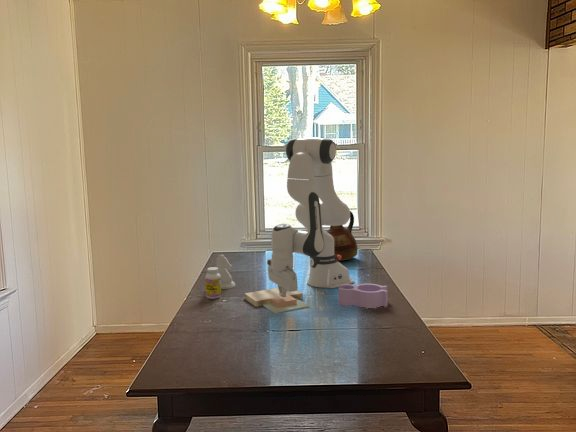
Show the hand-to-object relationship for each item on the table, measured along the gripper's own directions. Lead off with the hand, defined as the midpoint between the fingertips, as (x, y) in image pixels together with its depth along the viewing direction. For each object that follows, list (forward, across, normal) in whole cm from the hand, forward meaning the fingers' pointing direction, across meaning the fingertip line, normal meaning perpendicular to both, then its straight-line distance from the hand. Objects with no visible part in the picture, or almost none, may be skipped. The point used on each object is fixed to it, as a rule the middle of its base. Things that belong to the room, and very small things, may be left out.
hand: (282, 296), depth 210 cm
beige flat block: (+4, +9, 0) cm, 10 cm away
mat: (+4, -2, 0) cm, 4 cm away
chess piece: (+4, +37, +12) cm, 39 cm away
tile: (+3, -1, 0) cm, 3 cm away
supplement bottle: (+4, +24, +22) cm, 33 cm away
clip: (+4, -14, -30) cm, 34 cm away
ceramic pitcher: (+4, +53, -62) cm, 82 cm away
